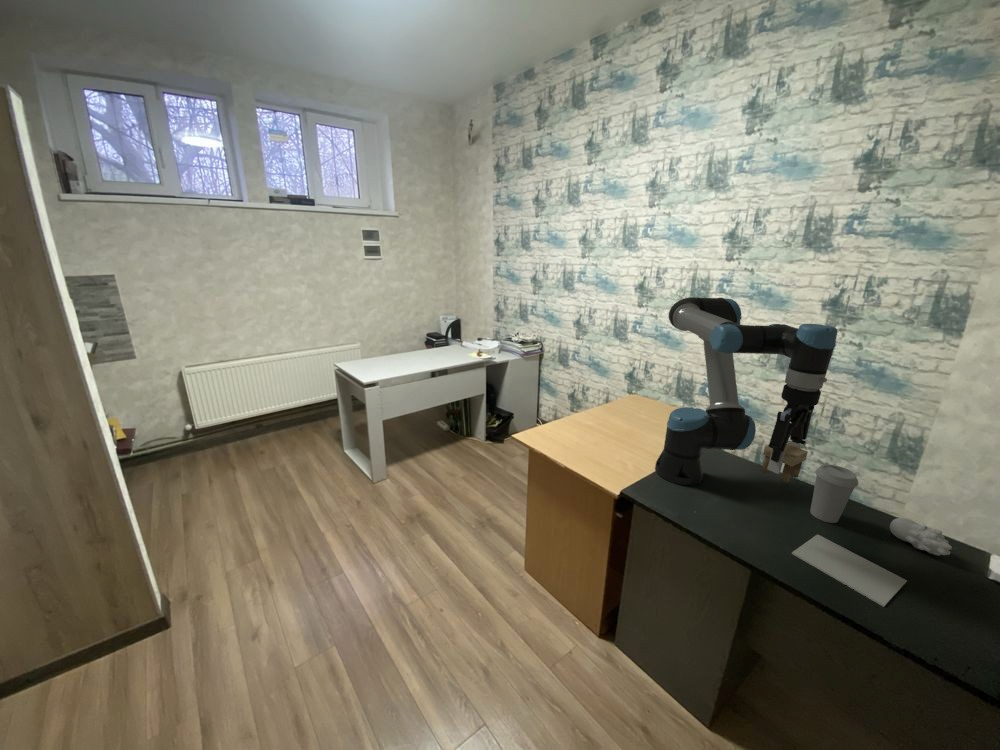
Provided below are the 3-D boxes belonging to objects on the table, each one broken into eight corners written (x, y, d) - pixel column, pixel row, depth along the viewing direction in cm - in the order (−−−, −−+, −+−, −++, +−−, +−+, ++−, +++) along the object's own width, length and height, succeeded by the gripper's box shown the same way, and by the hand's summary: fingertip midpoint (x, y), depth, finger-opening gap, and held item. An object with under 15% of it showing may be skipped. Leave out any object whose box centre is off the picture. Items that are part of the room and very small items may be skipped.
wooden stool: (758, 470, 105) (764, 446, 103) (772, 464, 109) (778, 440, 106) (787, 483, 99) (794, 457, 97) (800, 476, 103) (807, 451, 101)
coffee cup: (853, 528, 109) (869, 482, 105) (814, 523, 111) (829, 478, 106) (832, 508, 118) (846, 464, 114) (797, 503, 120) (809, 460, 115)
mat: (791, 553, 99) (791, 552, 99) (816, 535, 106) (817, 534, 106) (883, 607, 85) (884, 605, 84) (906, 581, 91) (907, 580, 91)
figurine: (901, 520, 109) (963, 546, 98) (888, 538, 109) (948, 567, 98) (895, 508, 106) (957, 534, 95) (881, 528, 106) (942, 556, 95)
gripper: (800, 397, 89) (776, 484, 96) (838, 385, 98) (814, 465, 105) (765, 388, 95) (745, 470, 102) (804, 377, 105) (784, 453, 111)
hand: (780, 467), depth 103 cm, fingers closed on wooden stool, 7 cm apart
